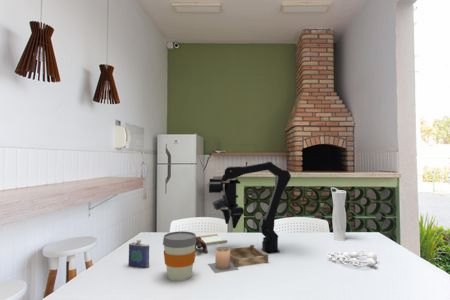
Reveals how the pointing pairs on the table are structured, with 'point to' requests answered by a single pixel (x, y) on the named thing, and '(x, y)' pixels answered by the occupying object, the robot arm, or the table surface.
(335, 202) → the white water bottle
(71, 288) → the table surface
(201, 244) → the brown creature figurine
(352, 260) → the tangled rod sculpture
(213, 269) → the slate mat
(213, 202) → the robot arm
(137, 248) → the flask
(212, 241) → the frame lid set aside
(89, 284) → the table surface
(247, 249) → the brown wooden tray
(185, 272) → the reusable coffee cup
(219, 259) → the terracotta pot
